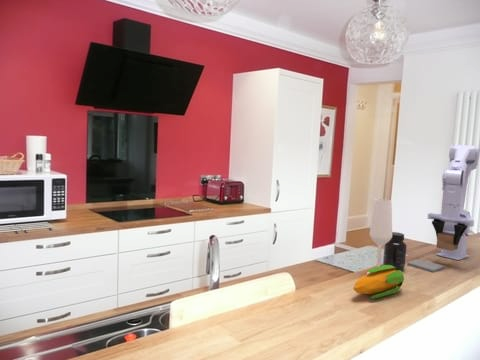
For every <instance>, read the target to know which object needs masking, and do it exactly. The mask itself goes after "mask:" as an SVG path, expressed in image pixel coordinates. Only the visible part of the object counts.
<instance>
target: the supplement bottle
mask: <svg viewBox="0 0 480 360" xmlns="http://www.w3.org/2000/svg"><path fill="white" fill-rule="evenodd" d="M404 241H405V233H401V232H398V231H392V238H391V240H390V241H389V242H387V243H386V244H385V245H383V246H384V248H383V261H382V262H383V263H382V266H383V265H391V266H393V267H396V268H398V270H401V272H403V271H405V268H406V256H407V255H406V254H407V243H406V242H404Z"/></svg>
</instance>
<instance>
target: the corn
mask: <svg viewBox="0 0 480 360" xmlns="http://www.w3.org/2000/svg"><path fill="white" fill-rule="evenodd" d="M366 272H367V273H368V272H369V274H367V273H366V274H365V275H363V276H361V277H360V278H359V279H358V280H357V281H355V283H354V286H353V291H354V292H356V293H357V294H365V295H372V296H370V297H369V299H371V300H372V299H373V300H375V299H379V298H383V297H387V296H390V295H392V294H395V293H398V292H399V290H400V289H401V287H402V285H403V283H404V281H405V277H404V273H403V271H401V270H398V268H396V267H393V266H391V265H383V264H382V265H380V266H378V267H376V266H374V267H371V268H369V269H368V270H367V271H366Z"/></svg>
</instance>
